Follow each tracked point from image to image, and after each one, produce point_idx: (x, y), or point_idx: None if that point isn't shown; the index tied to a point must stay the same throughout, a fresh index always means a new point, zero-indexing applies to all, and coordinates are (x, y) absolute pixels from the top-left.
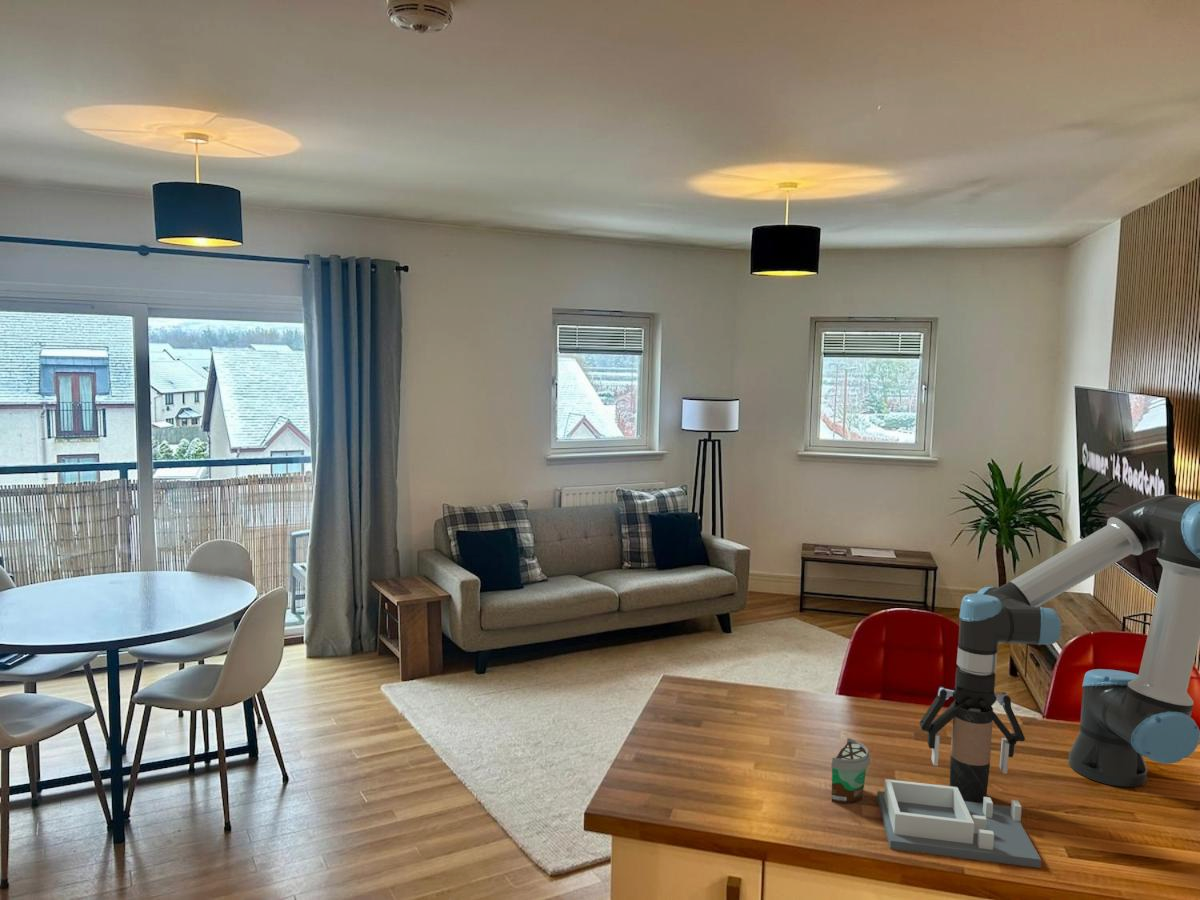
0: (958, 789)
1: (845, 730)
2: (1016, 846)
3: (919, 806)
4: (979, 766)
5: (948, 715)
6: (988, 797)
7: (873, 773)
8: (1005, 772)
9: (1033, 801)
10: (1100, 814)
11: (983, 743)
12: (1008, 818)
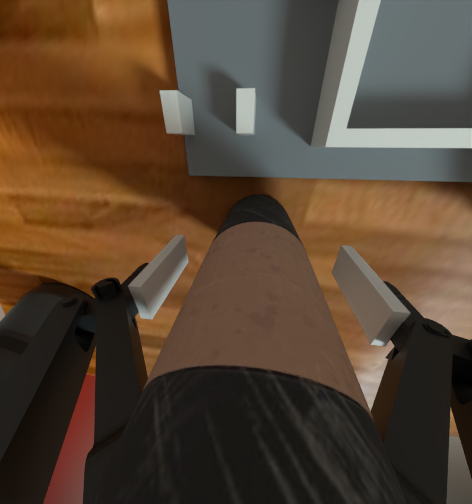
0: (329, 128)
1: (367, 369)
2: None
3: (419, 115)
4: (243, 222)
5: (439, 446)
6: (240, 132)
7: (401, 276)
8: (178, 236)
9: (153, 228)
10: (60, 206)
11: (223, 266)
12: (202, 109)
